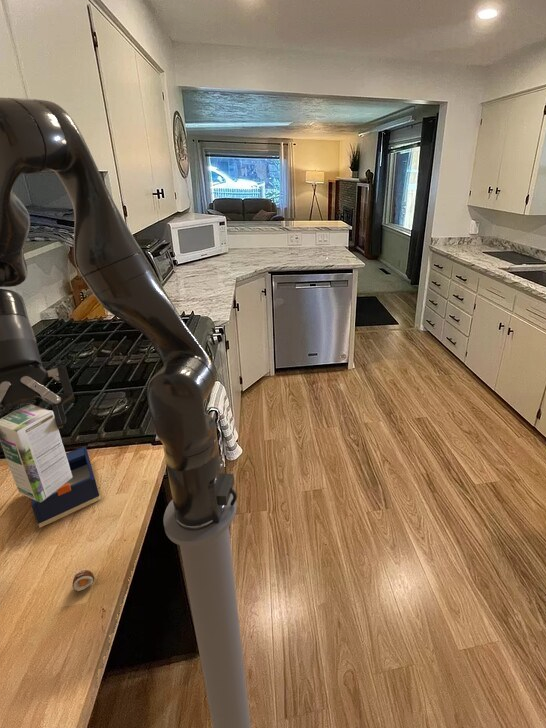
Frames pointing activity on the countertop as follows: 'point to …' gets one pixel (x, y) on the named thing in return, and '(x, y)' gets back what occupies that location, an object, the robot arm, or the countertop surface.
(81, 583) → the chocolate
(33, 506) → the navy blue pull-out drawer
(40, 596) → the countertop surface
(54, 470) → the syrup box
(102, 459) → the countertop surface
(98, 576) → the countertop surface
